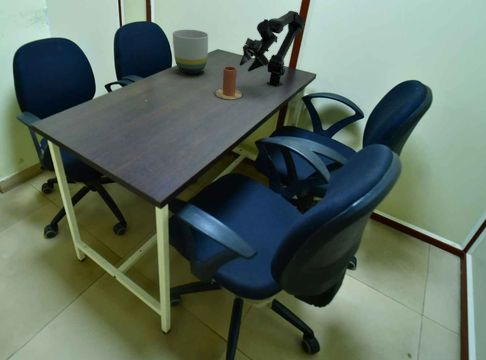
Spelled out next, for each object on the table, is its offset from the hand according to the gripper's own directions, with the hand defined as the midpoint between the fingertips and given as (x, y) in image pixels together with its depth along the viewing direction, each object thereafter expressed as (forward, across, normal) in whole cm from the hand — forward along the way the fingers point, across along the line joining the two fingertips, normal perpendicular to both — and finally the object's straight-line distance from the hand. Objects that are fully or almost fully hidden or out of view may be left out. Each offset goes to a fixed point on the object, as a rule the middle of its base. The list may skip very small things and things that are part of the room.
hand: (244, 68), depth 152 cm
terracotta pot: (+14, 0, +3) cm, 15 cm away
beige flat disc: (+15, 0, +3) cm, 15 cm away
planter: (+20, -36, -2) cm, 42 cm away
